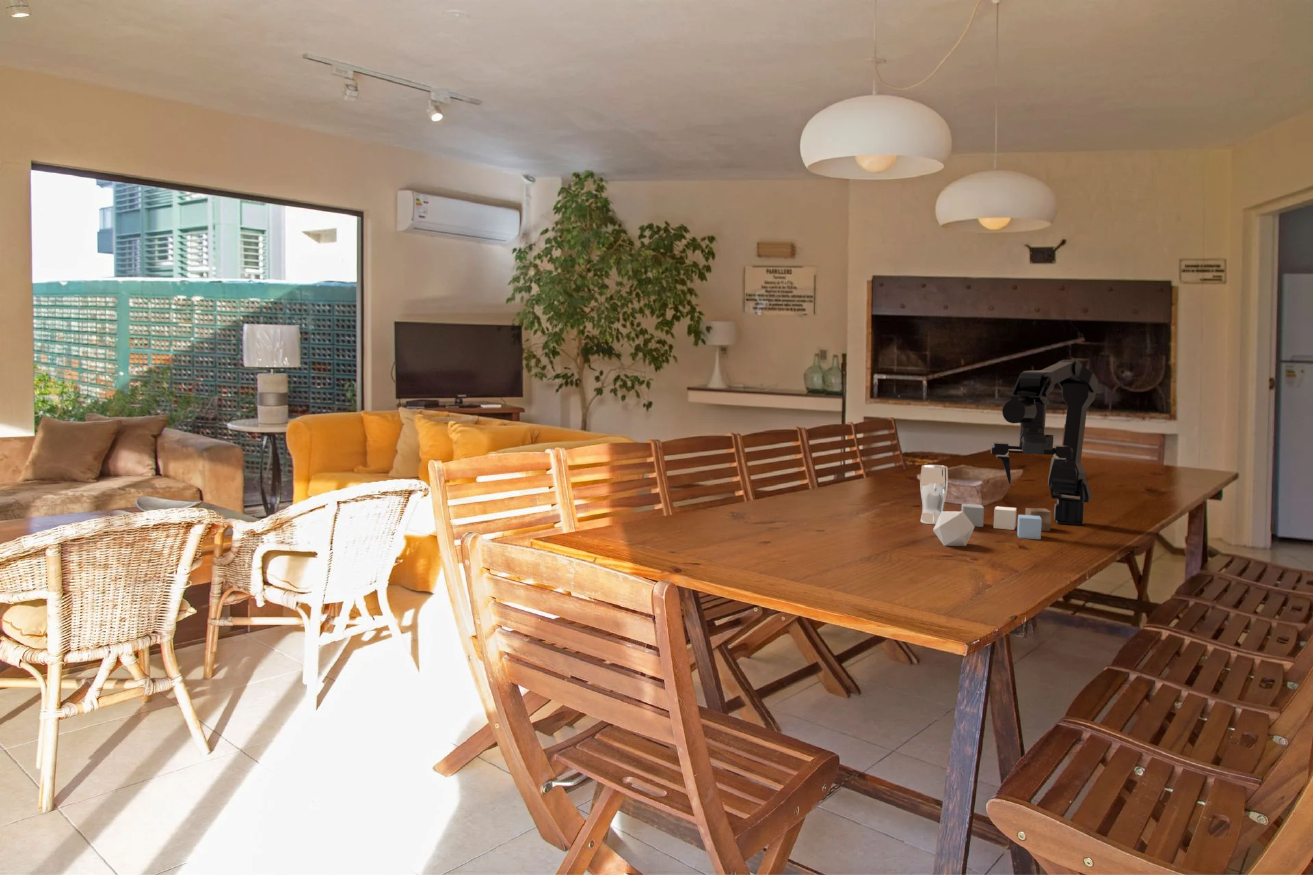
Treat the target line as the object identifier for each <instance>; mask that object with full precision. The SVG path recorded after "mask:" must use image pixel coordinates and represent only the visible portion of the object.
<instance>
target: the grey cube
mask: <svg viewBox="0 0 1313 875" xmlns="http://www.w3.org/2000/svg"><path fill="white" fill-rule="evenodd" d="M960 511H963V512H964V513H965V515H966V516H967V517H968V519H969V520H970V521H971V523H972V524H973V525H974V527H981V528H982V527H984V516H985V514H984V512H985V507H984V506H983V505H982V504H968V503H962V504H961V510H960Z"/></svg>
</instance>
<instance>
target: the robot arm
mask: <svg viewBox="0 0 1313 875" xmlns="http://www.w3.org/2000/svg"><path fill="white" fill-rule="evenodd" d="M1056 384H1057V385H1058V386H1059V387H1060V388H1061V397H1062V399H1063V400H1064V403H1065V404H1066V416H1065V424H1064V425H1065V426H1064V432H1063V441H1062V444H1054V434H1045V432H1046V417H1047V416H1046V415H1047V404H1050V400H1049V399H1048V396H1049V394H1050V393H1051V392H1052V391H1054V387H1055V385H1056ZM1098 390H1099V380H1098V378H1097V376H1096V375H1095V373H1094V372H1093V371H1091V370H1090V369H1088V368H1087V367H1085V366H1084V365H1082V363H1081V361H1079V360H1076V359H1062V360H1059V361H1057V362H1056V363H1054V364H1052V365H1049V366H1048V367H1045V368H1043V369H1041V370H1023V371H1022V372H1021V373H1020V374H1019V376H1018V378H1017V380H1016V383H1015V385H1014V387H1013V389H1012V392H1011V394H1010V399H1009V400H1008V401H1007V402H1005V404H1004V405H1003V408H1002V416H1003V419H1004V420H1005V421H1006V422H1008V423H1010V424H1019V425H1020V426H1019V441H1018V442H1019V445H1009V443H1008V442H1005V441H1004V442H999V441H993V442H992V443H990V444H991V445H990V455H992V456H995V457H996V459H1000V461H1001V462H1002V465H1003V467H1004V472H1005V475H1006V479H1007V483H1008V485H1011V481H1012V480H1011V479H1012V476H1011V465H1010V455H1009V454H1010V453H1011V454H1024V455H1031V454H1032V455H1038V456H1042V455H1048V456H1049V455H1050V456H1052V457H1051V460H1050V467H1049V472H1048V478H1047V486H1048V487H1049V490H1050V491H1049V492H1050V498H1051V499H1053V500H1054V499H1056V503H1054V510H1053V511H1054V512H1053V514H1054V515H1053V519H1054V521H1055V522H1056V524H1060V525H1061V524H1062V525H1063V524H1064V525H1074V526H1075V525H1077V526H1079V525H1080V526H1084V525H1085V523H1084V511H1085V509H1084V508H1085V503H1090V501H1091V498H1092V492H1091V489H1090V487H1089V484H1088V482H1087V481H1086V480H1087V473H1086V471H1085V469H1084V467H1083V465H1082V453H1083V448H1084V447H1083V445H1084V437H1085V429H1086V423H1087V422H1086V420H1087V412H1088V408H1089V407H1090V406H1091V404H1092V403H1093V402H1094V401H1095V399H1096V394H1097V392H1098Z"/></svg>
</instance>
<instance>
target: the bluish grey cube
mask: <svg viewBox="0 0 1313 875" xmlns="http://www.w3.org/2000/svg"><path fill="white" fill-rule="evenodd" d="M1041 523H1042V519H1041V517H1040V516H1033V515H1025V514H1018V515H1017V528H1016V532H1017V533H1016V535H1017V537H1018V539H1030V540H1032V539H1033V540H1041V539H1042V537H1041V536H1042V531H1041Z"/></svg>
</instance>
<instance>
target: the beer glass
mask: <svg viewBox="0 0 1313 875" xmlns="http://www.w3.org/2000/svg"><path fill="white" fill-rule="evenodd" d="M948 478H949V470H948V466H946V465H941V464H923V465H921V470H920V478H919V479H920V480H919V485H920V486H919V487H920V489H919V490H920V497H921V503H922V504H921V505H922V509H921V510H922V511H921V516H920V521H919V522H920V523H922V524H926V525H934V526H935V525H936V523H937V520H938V518H939V516H940V514H941V511H944V506H945V501H946V497H947V493H948V485H949V484H948V483H949V482H948V481H949V479H948Z"/></svg>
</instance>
